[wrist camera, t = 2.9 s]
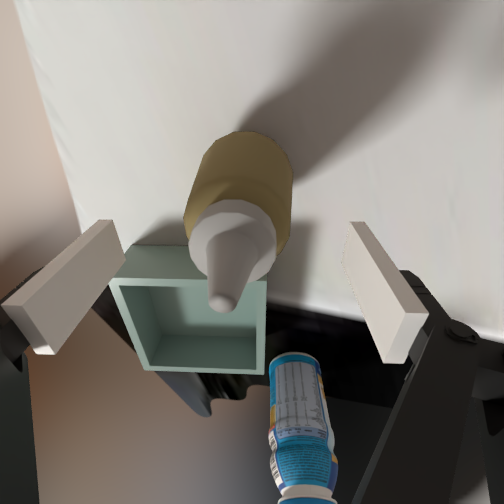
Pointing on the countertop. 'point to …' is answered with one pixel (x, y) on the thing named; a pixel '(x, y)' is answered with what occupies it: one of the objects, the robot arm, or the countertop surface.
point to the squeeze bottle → (238, 214)
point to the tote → (187, 315)
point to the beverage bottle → (300, 431)
